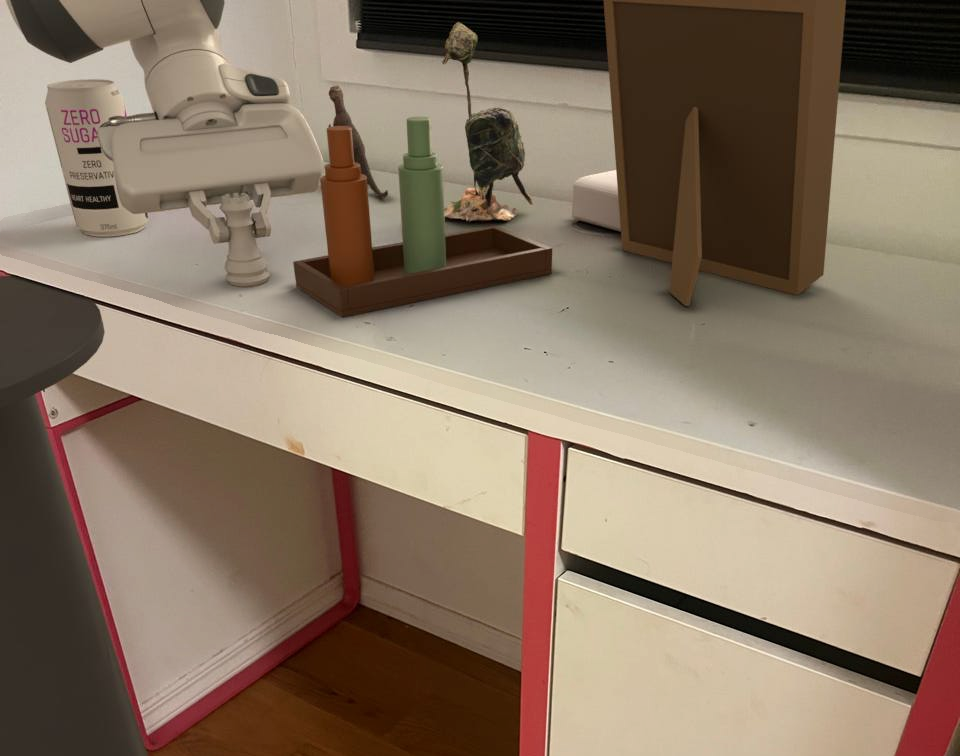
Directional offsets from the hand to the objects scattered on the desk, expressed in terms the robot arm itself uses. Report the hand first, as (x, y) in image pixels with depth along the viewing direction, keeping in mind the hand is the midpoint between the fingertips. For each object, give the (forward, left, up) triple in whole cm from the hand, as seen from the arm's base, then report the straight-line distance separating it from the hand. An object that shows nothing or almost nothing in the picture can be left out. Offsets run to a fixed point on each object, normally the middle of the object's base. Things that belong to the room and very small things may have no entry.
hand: (243, 236), depth 94 cm
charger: (+46, -6, -5) cm, 47 cm away
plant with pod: (+33, +8, -5) cm, 34 cm away
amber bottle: (+7, -9, -4) cm, 12 cm away
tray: (+15, -9, -4) cm, 18 cm away
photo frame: (+37, -23, -5) cm, 44 cm away
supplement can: (-6, +29, -5) cm, 30 cm away
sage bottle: (+15, -9, -4) cm, 18 cm away
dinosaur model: (+27, +29, -5) cm, 40 cm away
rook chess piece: (0, +1, -5) cm, 5 cm away
